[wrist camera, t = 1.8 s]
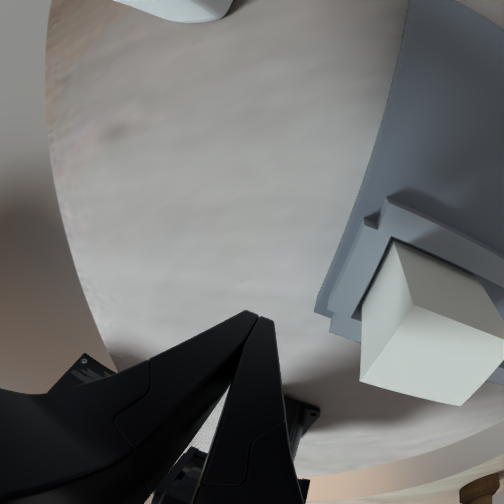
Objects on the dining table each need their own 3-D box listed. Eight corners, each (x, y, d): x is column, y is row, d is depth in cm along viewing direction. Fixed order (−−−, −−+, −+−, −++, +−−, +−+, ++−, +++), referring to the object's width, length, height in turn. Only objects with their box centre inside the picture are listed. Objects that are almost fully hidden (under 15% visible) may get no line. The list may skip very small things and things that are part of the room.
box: (141, 436, 35) (103, 490, 25) (107, 415, 36) (67, 464, 26) (127, 378, 27) (63, 453, 17) (84, 350, 28) (20, 413, 18)
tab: (441, 332, 12) (460, 406, 8) (361, 303, 13) (359, 381, 9) (476, 277, 10) (515, 344, 6) (392, 239, 11) (413, 304, 7)
